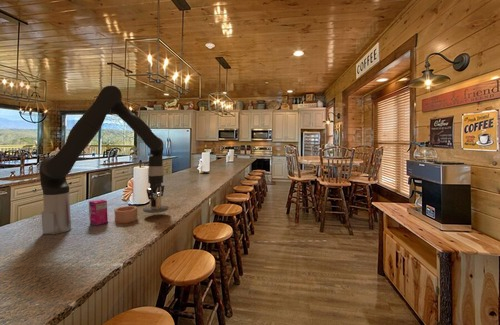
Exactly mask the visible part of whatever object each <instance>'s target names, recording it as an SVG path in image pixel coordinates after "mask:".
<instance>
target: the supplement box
mask: <svg viewBox="0 0 500 325" xmlns="http://www.w3.org/2000/svg"><path fill="white" fill-rule="evenodd" d="M107 202H108V201H107V200H106V199H95V200H90V201H88V215H89V225H93V226H95V227H99V226H102V225H106V224H108V223H109V220H108V216H109V215H108V203H107Z"/></svg>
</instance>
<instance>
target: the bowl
mask: <svg viewBox="0 0 500 325" xmlns="http://www.w3.org/2000/svg"><path fill="white" fill-rule="evenodd" d="M113 213H114V222H115V223H117V224H127V223H132V222H135V221H137V219H138V207H137V206H135V205H134V206H131V205H126V206H120V207H118V208H115V209H114V212H113Z"/></svg>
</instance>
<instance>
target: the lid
mask: <svg viewBox="0 0 500 325" xmlns="http://www.w3.org/2000/svg"><path fill="white" fill-rule="evenodd" d="M149 200H150V199H149ZM149 204H151V200H150V203H149ZM168 210H169V206H168V205H164V204H163V205H162V196H161V197H158V196H156V206H155V207H152V206H151V205H148V206H145V207H143V208H142V212H145V213H148V214H150V213H152V214H155V213H156V214H157V213H162V212H166V211H168Z"/></svg>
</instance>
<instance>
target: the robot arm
mask: <svg viewBox="0 0 500 325" xmlns="http://www.w3.org/2000/svg"><path fill="white" fill-rule="evenodd" d="M122 99H123V94H122V92H121V90H120V88H119V87H117V86H115V85H106V86H104V87H103V88H102V89H101V91H100V92H99V93H98V95H97V97H96V98H95V100H94V102H92V104H91V105H90V106H89V107H88V109H86V111H85V112H84V113H83V114H82V116H81V117H80V118H79V119H78V120H77V121H76V122H75V124H74V125H73V126H72V128H71V130H69V133H68V135H67V137H66V138H67V139H66V141H65V142H64V144H63V146H62V147H61V148H60V150H58V152H57V153H56V154H55V155H54V156H48V157H46V158H44V159H43V160H41V162H40V164H39V176H40V178H39V179H40V186H41V189H42V199H43V201H42V202H43V211H42V212H41V225H42V234H44V235H57V234H61V233H65V232H68V231H71V229H72V220H71V218H72V217H71V196H70V186H69V184H68V182H67V176H68V174H70V172H71V171H72V169H73V167H74V166H75V164H76V162H77V160H78V159H79V157H80V155H81V154H82V153H83V152H84V151H85V149H87V147H88V145H89V144H90V143H91V142H92V141H93V139H94V138H95V137H96V135H97V134H98V133H99V131H100V130H101V129H102V127H103V124H104V122H105V120H106V117H107V116H108V113H109V111H111V112H113V113H114V114H116V115H117V117H119V118H120V119H122V121H123V122H124V123H125V124H126V125H127V126H128V127H129V128H131V130H132V131H133V132H134V133H135V134H136V135H137V136H138V137H139V138H140V139H141V141H143V142H144V144H145V145H146V146H147V148H148V149H150V150H149V151H150V152H149V156H148V170H147V171H148V173H147V176H148V179H147V180H148V184H149V185H150V186H149V188H146V194H147V198H148V200H151V203H150V206H152V207H155V206H156V196H158V197H161V198H162V197H163V196H164V190H165V185H162V184H163V183H164V167H163V165H164V164H163V162H164V161H163V154H164V141H163V140H162V139H161V138H160V137H158V136H157V135H156V134H155V133H154V132H153V131H152V129H151V128H150V127H149V125H147V124H146V122H145V121H144V120H143V119H141V118H140V117H139V116H138V115H136V114H135V113H134V112H132V111H130V110H129V108H128V107H127V106H126V105H125V103H124V102H123V101H122Z"/></svg>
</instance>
